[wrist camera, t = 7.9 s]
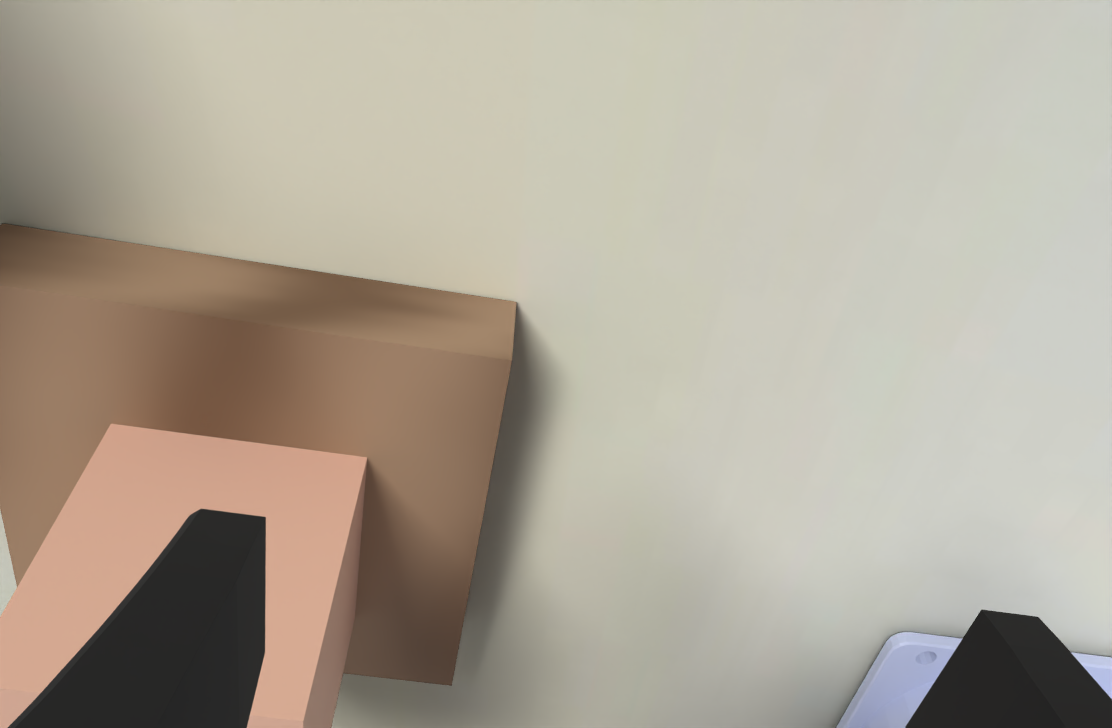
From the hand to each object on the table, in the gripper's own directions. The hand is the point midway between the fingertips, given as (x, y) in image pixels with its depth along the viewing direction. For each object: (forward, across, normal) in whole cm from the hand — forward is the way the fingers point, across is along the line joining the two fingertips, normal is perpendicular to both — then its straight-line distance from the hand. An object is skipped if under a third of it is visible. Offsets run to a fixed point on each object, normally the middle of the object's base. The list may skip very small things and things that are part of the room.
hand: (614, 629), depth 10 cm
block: (+8, +6, +8) cm, 13 cm away
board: (+10, +6, +8) cm, 14 cm away
